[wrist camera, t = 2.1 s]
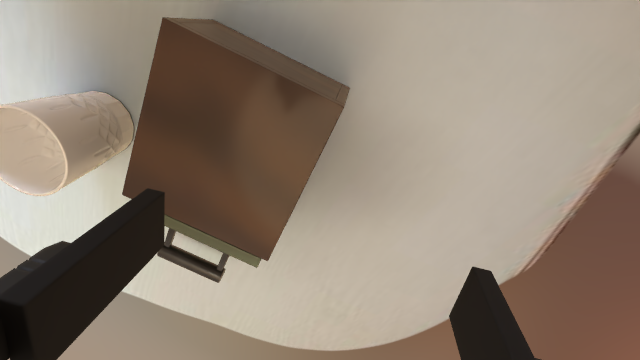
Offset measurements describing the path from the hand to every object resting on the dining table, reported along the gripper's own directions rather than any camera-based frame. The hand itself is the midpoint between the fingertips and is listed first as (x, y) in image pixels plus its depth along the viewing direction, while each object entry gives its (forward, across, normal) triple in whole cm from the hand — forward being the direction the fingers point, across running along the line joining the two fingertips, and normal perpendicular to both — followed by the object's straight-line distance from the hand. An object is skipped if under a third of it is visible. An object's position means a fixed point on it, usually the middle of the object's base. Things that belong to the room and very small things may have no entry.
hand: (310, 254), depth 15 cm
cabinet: (+22, -9, -2) cm, 24 cm away
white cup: (+22, -25, -6) cm, 34 cm away
